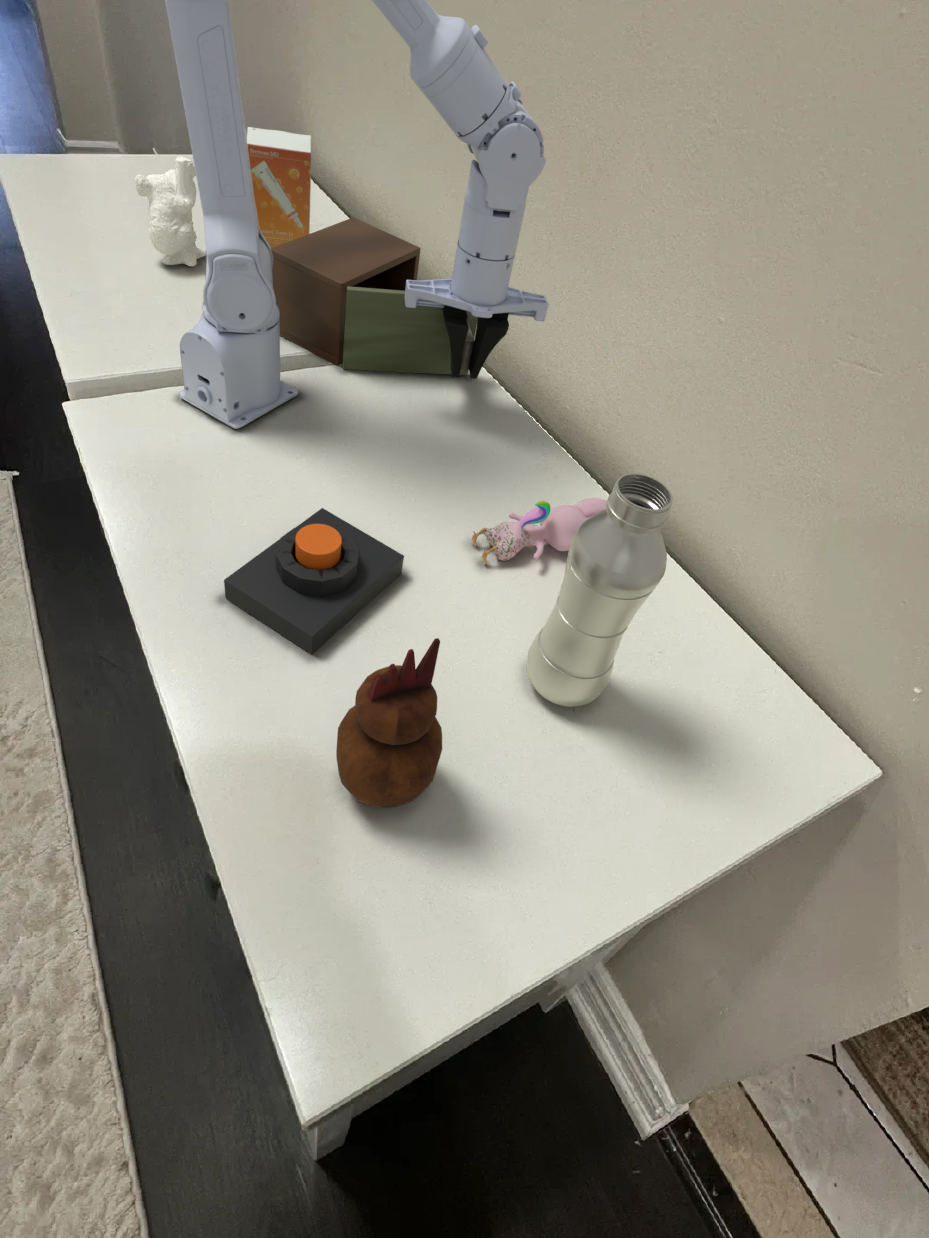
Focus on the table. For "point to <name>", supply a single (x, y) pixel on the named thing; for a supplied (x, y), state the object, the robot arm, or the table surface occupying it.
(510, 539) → the pink plastic animal figure
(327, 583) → the control block
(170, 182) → the koala figurine
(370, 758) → the wooden figurine
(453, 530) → the table surface
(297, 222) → the small box
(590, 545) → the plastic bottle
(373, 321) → the cupboard door
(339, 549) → the button
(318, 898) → the table surface
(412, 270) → the cupboard
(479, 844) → the table surface
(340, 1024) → the table surface
